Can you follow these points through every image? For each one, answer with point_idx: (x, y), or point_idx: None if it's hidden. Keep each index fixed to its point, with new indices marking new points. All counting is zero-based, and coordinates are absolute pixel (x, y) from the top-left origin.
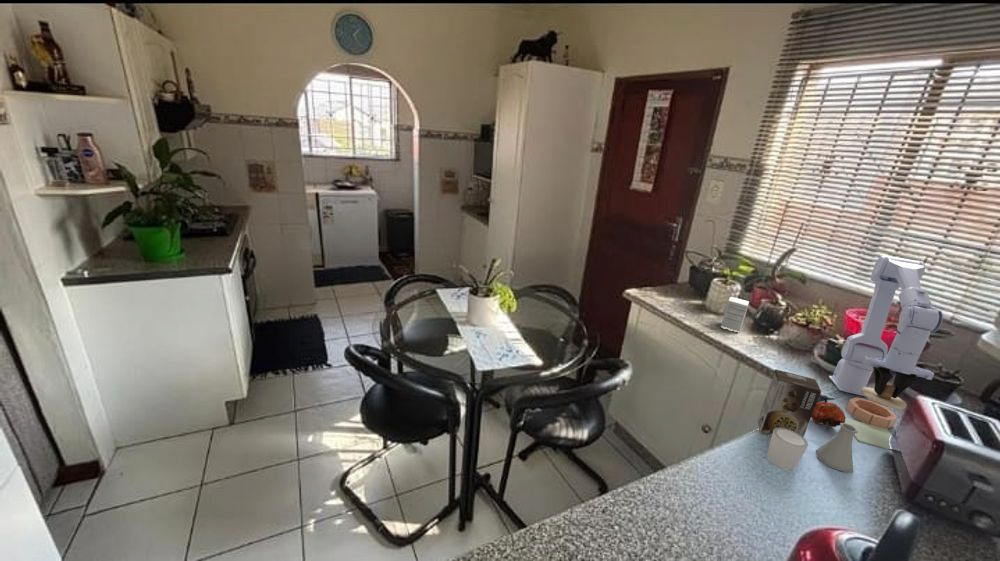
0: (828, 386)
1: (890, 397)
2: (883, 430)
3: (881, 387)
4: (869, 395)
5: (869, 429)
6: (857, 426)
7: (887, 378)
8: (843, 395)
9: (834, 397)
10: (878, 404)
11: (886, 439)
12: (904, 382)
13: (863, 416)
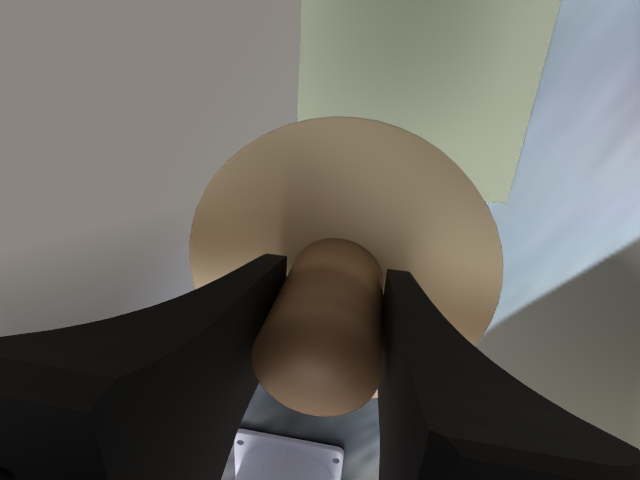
0: (377, 466)
1: (308, 254)
2: None
3: (428, 306)
4: (475, 257)
5: (403, 128)
6: (463, 133)
7: (469, 395)
8: (345, 417)
9: None
10: None
11: (356, 49)
12: (182, 352)
13: None
